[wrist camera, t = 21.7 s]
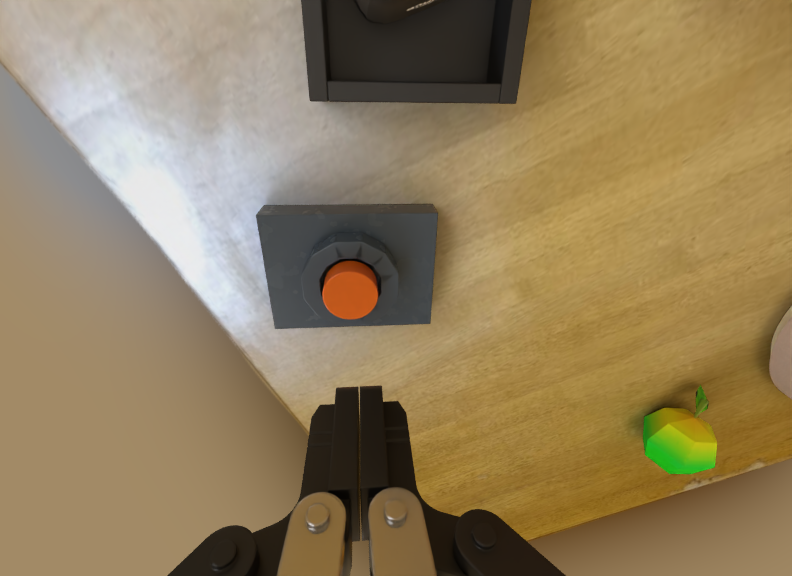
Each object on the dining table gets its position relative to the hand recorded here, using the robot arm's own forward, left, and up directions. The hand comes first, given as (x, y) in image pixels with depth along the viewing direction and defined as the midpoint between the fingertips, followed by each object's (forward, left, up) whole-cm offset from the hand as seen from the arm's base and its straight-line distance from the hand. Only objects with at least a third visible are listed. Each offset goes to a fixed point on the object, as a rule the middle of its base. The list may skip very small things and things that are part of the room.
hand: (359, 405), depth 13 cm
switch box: (-1, -3, -18) cm, 18 cm away
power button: (-1, -3, -14) cm, 14 cm away
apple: (+31, -21, -18) cm, 42 cm away
